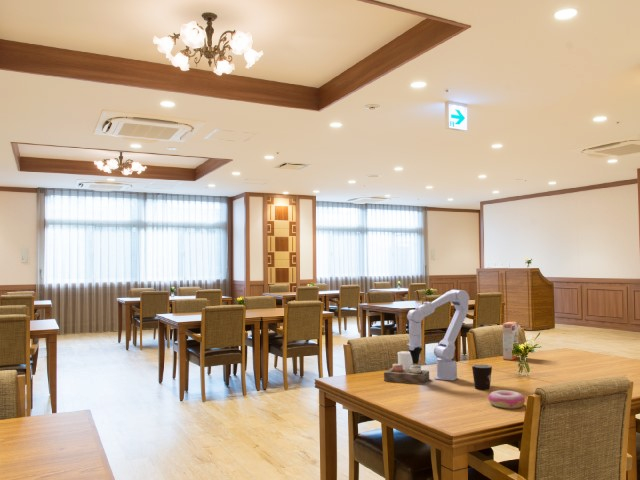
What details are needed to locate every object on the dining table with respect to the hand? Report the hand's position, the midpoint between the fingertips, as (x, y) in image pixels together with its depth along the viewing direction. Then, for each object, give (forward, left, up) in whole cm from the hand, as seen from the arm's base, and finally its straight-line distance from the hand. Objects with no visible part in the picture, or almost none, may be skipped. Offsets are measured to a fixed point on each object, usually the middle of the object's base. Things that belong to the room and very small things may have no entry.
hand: (415, 363), depth 264 cm
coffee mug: (-33, +4, -8) cm, 34 cm away
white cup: (+10, -19, -8) cm, 23 cm away
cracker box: (-36, -81, -8) cm, 89 cm away
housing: (+4, 0, -8) cm, 9 cm away
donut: (-45, +31, -9) cm, 55 cm away
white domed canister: (0, 0, -5) cm, 5 cm away
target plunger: (+9, 0, -5) cm, 10 cm away
